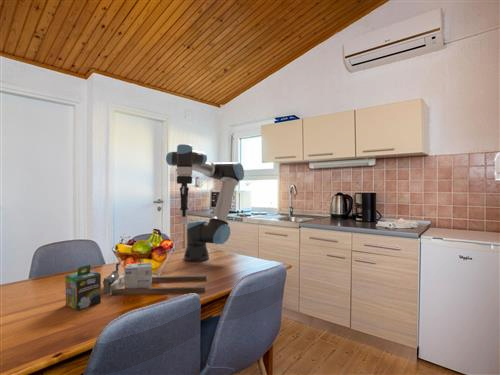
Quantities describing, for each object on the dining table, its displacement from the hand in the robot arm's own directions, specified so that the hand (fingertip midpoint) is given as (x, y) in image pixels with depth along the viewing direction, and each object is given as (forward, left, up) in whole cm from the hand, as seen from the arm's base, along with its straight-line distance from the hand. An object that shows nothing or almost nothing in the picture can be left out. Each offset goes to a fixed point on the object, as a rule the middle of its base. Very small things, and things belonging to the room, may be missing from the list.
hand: (184, 222), depth 144 cm
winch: (+13, -30, -26) cm, 42 cm away
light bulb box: (+17, -17, -27) cm, 36 cm away
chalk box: (+31, -34, -27) cm, 53 cm away
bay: (+15, -8, -26) cm, 31 cm away
